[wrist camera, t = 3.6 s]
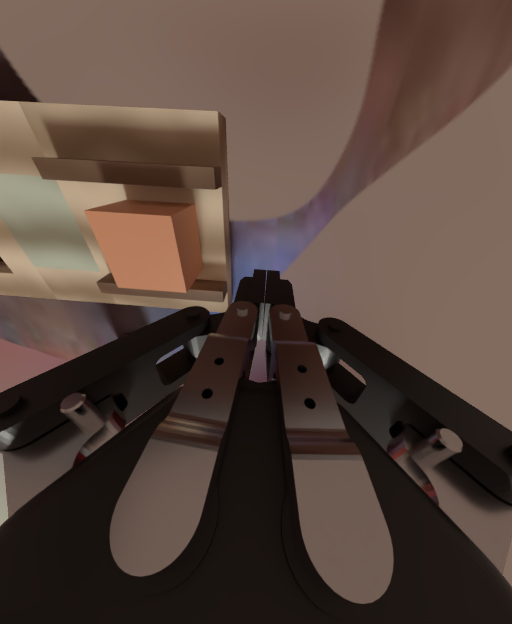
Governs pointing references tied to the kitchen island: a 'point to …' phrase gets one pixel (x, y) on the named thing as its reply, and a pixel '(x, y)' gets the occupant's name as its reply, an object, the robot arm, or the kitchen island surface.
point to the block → (149, 243)
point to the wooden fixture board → (106, 196)
